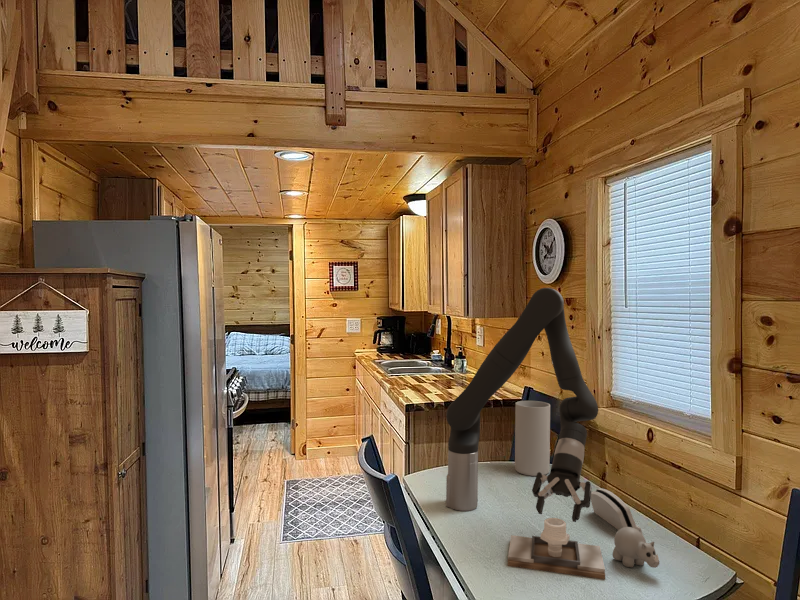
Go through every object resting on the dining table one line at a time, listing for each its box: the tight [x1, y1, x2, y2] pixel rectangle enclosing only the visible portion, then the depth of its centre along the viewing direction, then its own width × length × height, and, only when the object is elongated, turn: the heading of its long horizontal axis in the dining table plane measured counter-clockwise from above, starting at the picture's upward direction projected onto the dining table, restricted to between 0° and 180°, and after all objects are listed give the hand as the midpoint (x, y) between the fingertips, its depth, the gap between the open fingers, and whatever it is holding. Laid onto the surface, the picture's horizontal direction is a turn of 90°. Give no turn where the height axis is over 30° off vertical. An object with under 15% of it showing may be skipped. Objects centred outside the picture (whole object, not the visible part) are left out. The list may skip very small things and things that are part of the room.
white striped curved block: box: [590, 488, 643, 534], centre depth 154 cm, size 17×5×10 cm, turn 11°
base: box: [507, 534, 606, 580], centre depth 133 cm, size 22×14×2 cm, turn 75°
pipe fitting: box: [540, 517, 571, 557], centre depth 133 cm, size 6×7×8 cm
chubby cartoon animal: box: [612, 527, 660, 569], centre depth 129 cm, size 7×12×8 cm, turn 20°
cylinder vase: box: [514, 400, 551, 477], centre depth 199 cm, size 12×12×25 cm
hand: (556, 516), depth 134 cm, fingers open, 8 cm apart
